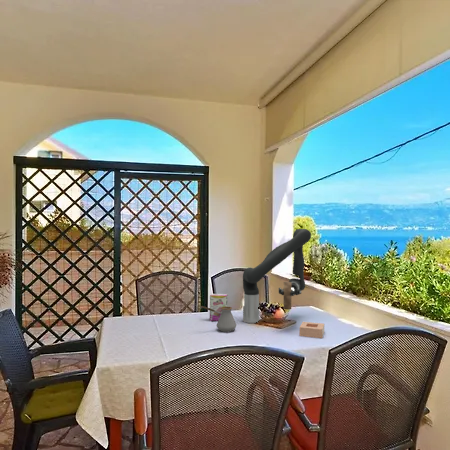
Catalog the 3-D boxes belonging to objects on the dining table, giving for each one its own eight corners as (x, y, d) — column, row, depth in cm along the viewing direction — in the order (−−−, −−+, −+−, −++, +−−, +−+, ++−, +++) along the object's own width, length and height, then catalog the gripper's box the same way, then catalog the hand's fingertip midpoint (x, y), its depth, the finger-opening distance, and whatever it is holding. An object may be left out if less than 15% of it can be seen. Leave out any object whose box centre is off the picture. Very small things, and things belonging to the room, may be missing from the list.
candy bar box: (209, 321, 234) (209, 295, 234) (210, 319, 239) (210, 293, 239) (227, 321, 233) (227, 295, 233) (227, 319, 238) (227, 293, 238)
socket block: (299, 335, 204) (299, 327, 204) (302, 330, 215) (302, 321, 215) (322, 338, 200) (322, 329, 200) (324, 332, 211) (324, 323, 211)
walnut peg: (282, 309, 211) (282, 282, 211) (284, 307, 216) (284, 281, 215) (290, 309, 210) (290, 283, 210) (292, 308, 214) (292, 282, 214)
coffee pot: (232, 326, 223) (232, 301, 222) (239, 331, 212) (239, 305, 212) (197, 329, 216) (197, 303, 216) (202, 335, 205) (202, 308, 205)
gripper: (280, 281, 228) (274, 286, 212) (304, 283, 223) (299, 287, 207) (280, 294, 229) (274, 299, 213) (304, 295, 224) (299, 301, 207)
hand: (286, 293), depth 210 cm, fingers closed on walnut peg, 4 cm apart
